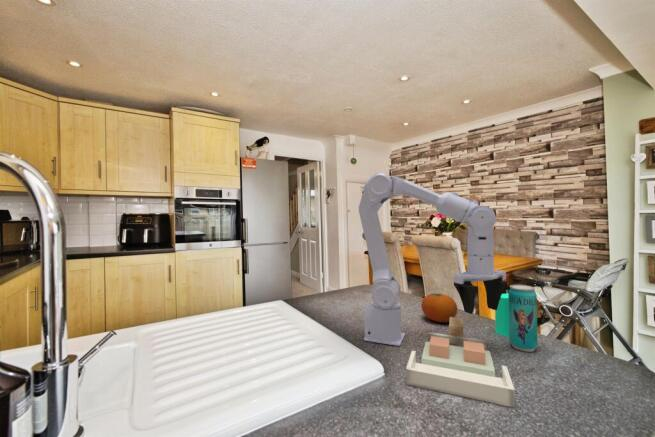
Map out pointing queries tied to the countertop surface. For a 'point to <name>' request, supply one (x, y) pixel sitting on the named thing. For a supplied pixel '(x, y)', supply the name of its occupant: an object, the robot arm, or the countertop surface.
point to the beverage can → (523, 317)
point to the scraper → (457, 334)
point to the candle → (502, 316)
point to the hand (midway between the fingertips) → (480, 310)
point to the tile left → (439, 347)
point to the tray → (461, 382)
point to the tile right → (474, 352)
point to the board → (459, 361)
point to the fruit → (439, 307)
